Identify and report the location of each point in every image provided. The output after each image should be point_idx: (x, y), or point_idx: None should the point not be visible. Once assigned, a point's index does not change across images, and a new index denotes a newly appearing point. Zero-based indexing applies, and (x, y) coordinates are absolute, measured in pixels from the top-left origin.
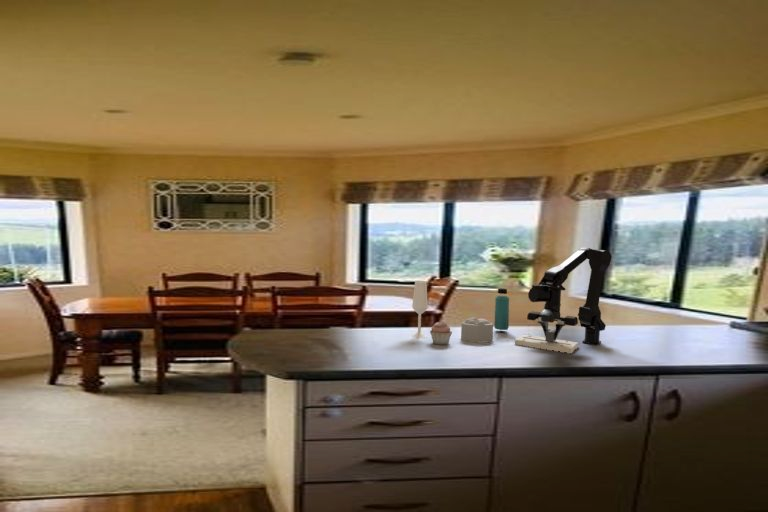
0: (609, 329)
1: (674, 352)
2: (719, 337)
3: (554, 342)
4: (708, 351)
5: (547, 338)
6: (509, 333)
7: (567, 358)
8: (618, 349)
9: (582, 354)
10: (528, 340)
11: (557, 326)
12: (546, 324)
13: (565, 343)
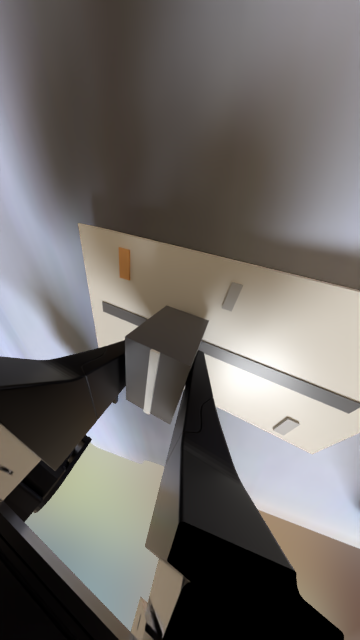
0: (110, 445)
1: (11, 341)
2: None
3: None
4: (4, 355)
5: (192, 325)
6: (356, 495)
7: (80, 54)
8: (53, 341)
9: (73, 243)
10: (342, 337)
11: (24, 373)
12: (167, 479)
13: (122, 319)
